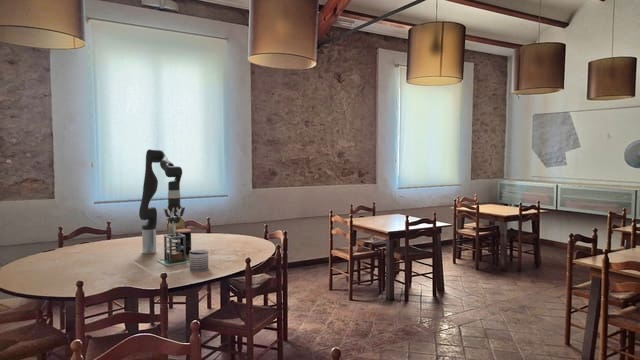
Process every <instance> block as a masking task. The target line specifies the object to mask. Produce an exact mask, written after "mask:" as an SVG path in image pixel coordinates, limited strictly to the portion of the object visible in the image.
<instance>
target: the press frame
mask: <svg viewBox="0 0 640 360" xmlns="http://www.w3.org/2000/svg"><path fill="white" fill-rule="evenodd" d="M177 235H178V236H177ZM170 236H174V234H170V235H168V234H164V235H163V243H164V244H163V251H164V254H163V255H164V258H163V259H164V261H165V262H166V263H168V264H173V263H179V262H185V261H187V260H186V257H187V256H186V236H185V235H182V234H180V233H178V234H176V236H177V237H170ZM176 238H178V240H180V238H183V246H181V245H180V242H178V245H175V244H174V245H173V243H172V239H176ZM167 240H168V241H167ZM167 242H168V243H167ZM167 244H169V245H167ZM175 247H178V248H176V249H175ZM180 247H181V248H180ZM182 249H183V252H181V251H180V250H182ZM175 250H178V251H175Z"/></svg>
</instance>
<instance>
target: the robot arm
mask: <svg viewBox="0 0 640 360" xmlns="http://www.w3.org/2000/svg"><path fill="white" fill-rule="evenodd" d="M153 163H154V164H155V163H158V164H159V165H160V169H162V170H163V171H164V175H165V176H166V178H167V177H168V178H174V179H173V180H169V181H168V182H167V183H168V184H167V187H168V191H167V204H168V205H167V207H166V208H163V212H164V214H165V217H166V218H168V221H169V223H170V224H172V217H173V216H174V213H175V212H176V215H177V223H179V222H180V217H181V218H182V217H183V215H184V214H185V208H186V207H185V206H181V191H180V189H181V188H180V183H181V180H182V176H183V169H182V167H181V166H178V165H177V166H175V165H174V163H173V162H171V161H170V160H169V159H168V157H167V155H166V154H165V152H164V151H163V150H161V149H154V148H153V149H152V148H149V149H147V150H146V152H145V170H144V178H143V187H142V195H141V202H140V205H139V206H140V207H139V210H138V214H139V215H138V216H139V218H140V220H142V221H146V222H145V223H143V225H141V234H142V237H141V238H142V240H141V241H142V244H141V245H142V254H145V255H147V254H148V255H150V254H155V253H157V224H158V211H157V210H158V209H156V206H153V205H151V206H150V203H151V200H152V199H153V197H154V196H155V194H156V193H157V191H158V183H159V181H158V178H157V175H156V174H155V172H154V169H153ZM168 211H169V212H168Z"/></svg>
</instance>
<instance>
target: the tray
mask: <svg viewBox="0 0 640 360" xmlns="http://www.w3.org/2000/svg"><path fill="white" fill-rule="evenodd" d="M186 260H187V261H185V262H179V263H173V264H168V263H166V262H165V261H164V258H161V259H156V261H157V262H158V263H159V264H161V265H163V266H165V267H169V266H176V265H182V264H188V263H189V264H190V257H187V256H186Z"/></svg>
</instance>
